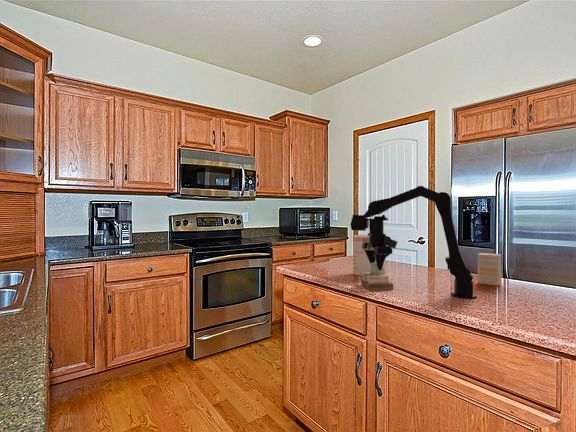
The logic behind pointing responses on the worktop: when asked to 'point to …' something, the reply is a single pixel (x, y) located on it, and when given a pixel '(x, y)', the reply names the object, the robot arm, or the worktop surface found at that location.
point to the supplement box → (489, 269)
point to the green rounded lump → (375, 269)
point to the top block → (375, 278)
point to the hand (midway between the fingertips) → (376, 268)
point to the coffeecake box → (361, 256)
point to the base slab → (377, 286)
